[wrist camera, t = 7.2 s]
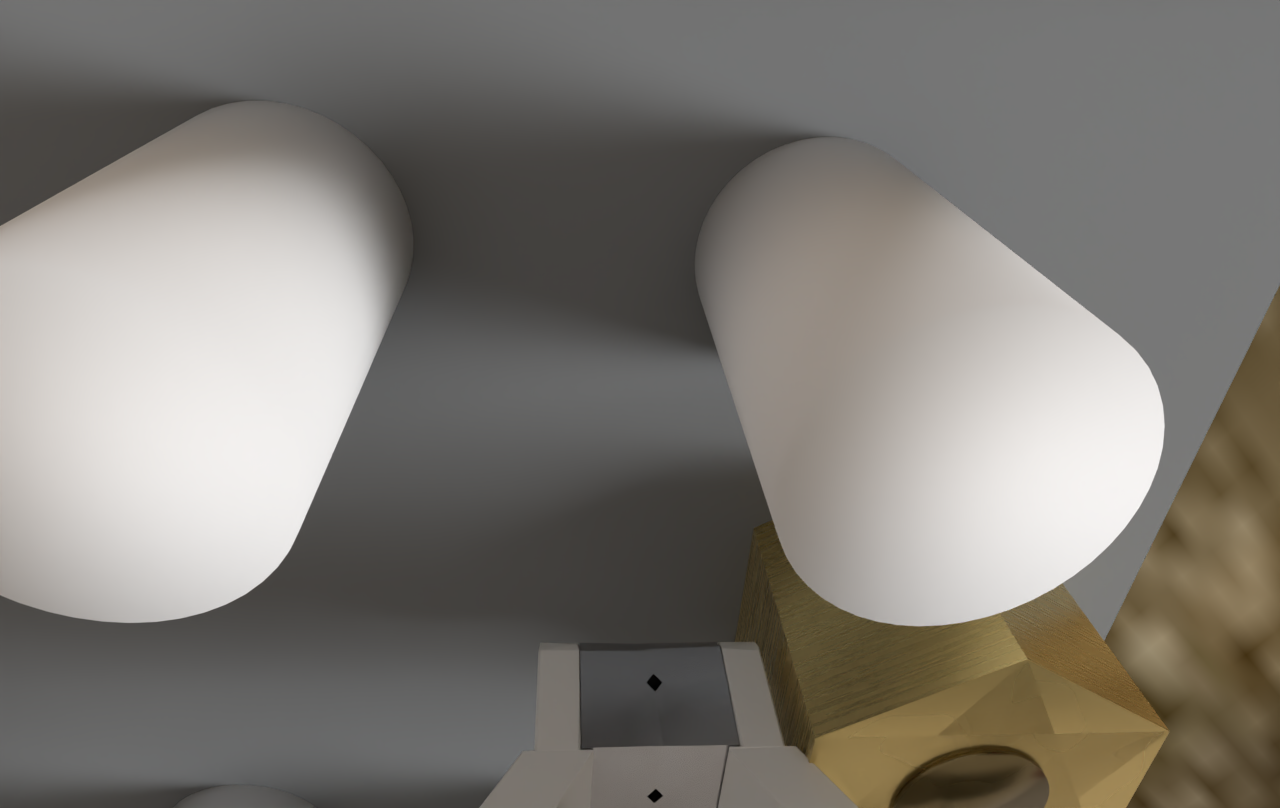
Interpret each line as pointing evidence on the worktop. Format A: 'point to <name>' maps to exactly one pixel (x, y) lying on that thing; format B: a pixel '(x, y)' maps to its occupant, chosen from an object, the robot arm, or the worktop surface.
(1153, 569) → the worktop surface
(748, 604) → the tan faceted block
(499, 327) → the mat
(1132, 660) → the worktop surface
